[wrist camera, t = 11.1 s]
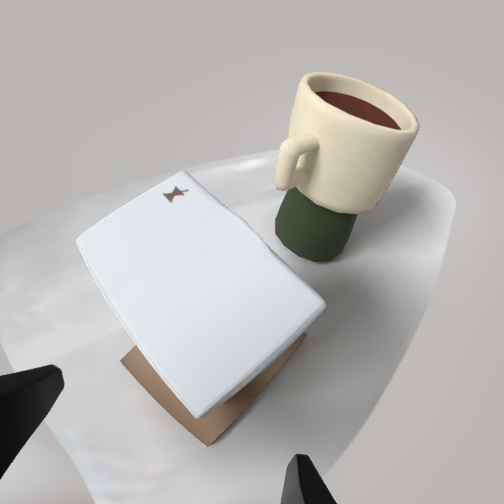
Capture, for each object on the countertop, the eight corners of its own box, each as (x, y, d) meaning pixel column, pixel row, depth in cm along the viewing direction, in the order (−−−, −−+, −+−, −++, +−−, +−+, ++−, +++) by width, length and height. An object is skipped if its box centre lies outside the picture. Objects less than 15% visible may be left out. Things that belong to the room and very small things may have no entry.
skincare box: (158, 339, 17) (69, 234, 7) (206, 302, 18) (185, 162, 8) (218, 410, 15) (196, 426, 4) (268, 367, 16) (336, 297, 6)
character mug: (323, 186, 26) (363, 69, 15) (374, 235, 24) (444, 121, 13) (232, 233, 22) (241, 80, 11) (288, 300, 20) (357, 157, 9)
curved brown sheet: (208, 445, 14) (207, 446, 13) (122, 362, 16) (119, 360, 16) (304, 337, 18) (307, 335, 18) (219, 269, 21) (219, 265, 20)
